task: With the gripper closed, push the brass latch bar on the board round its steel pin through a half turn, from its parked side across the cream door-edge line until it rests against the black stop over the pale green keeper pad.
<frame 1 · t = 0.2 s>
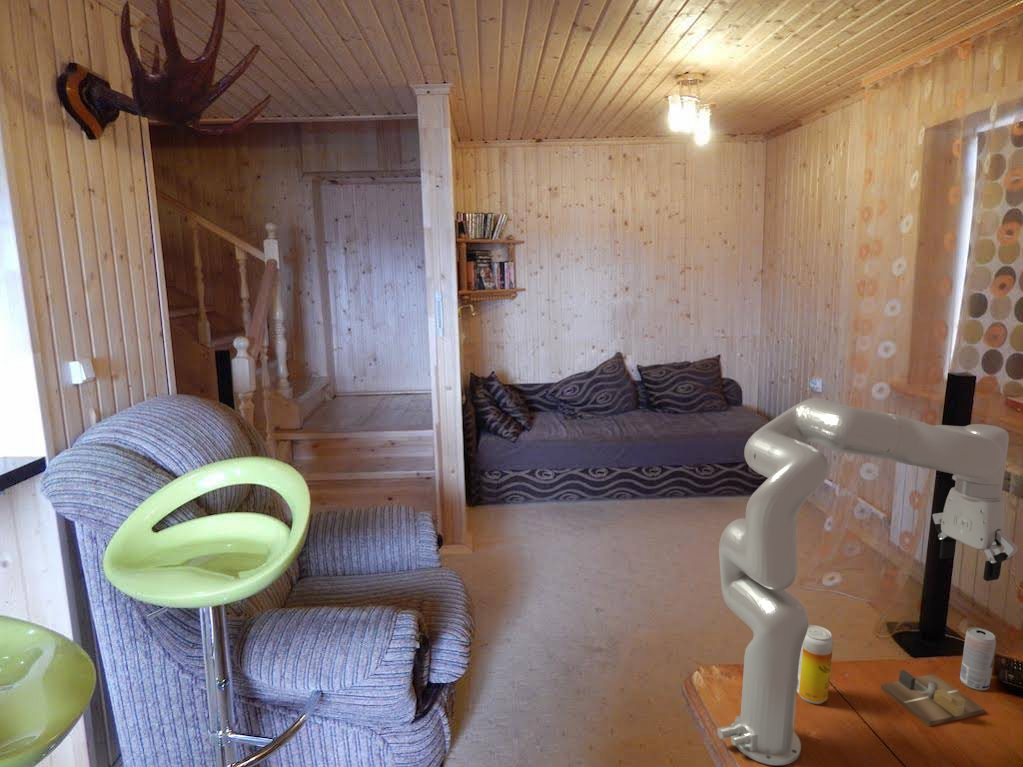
hand: (967, 568, 132), 30 cm above the table, fingers open, 9 cm apart
lock board: (930, 700, 139), on the table
energy drink: (974, 684, 144), on the table
beer can: (811, 696, 140), on the table
latch bar: (949, 700, 134), point 3 cm above the table, hinge at 0.0°
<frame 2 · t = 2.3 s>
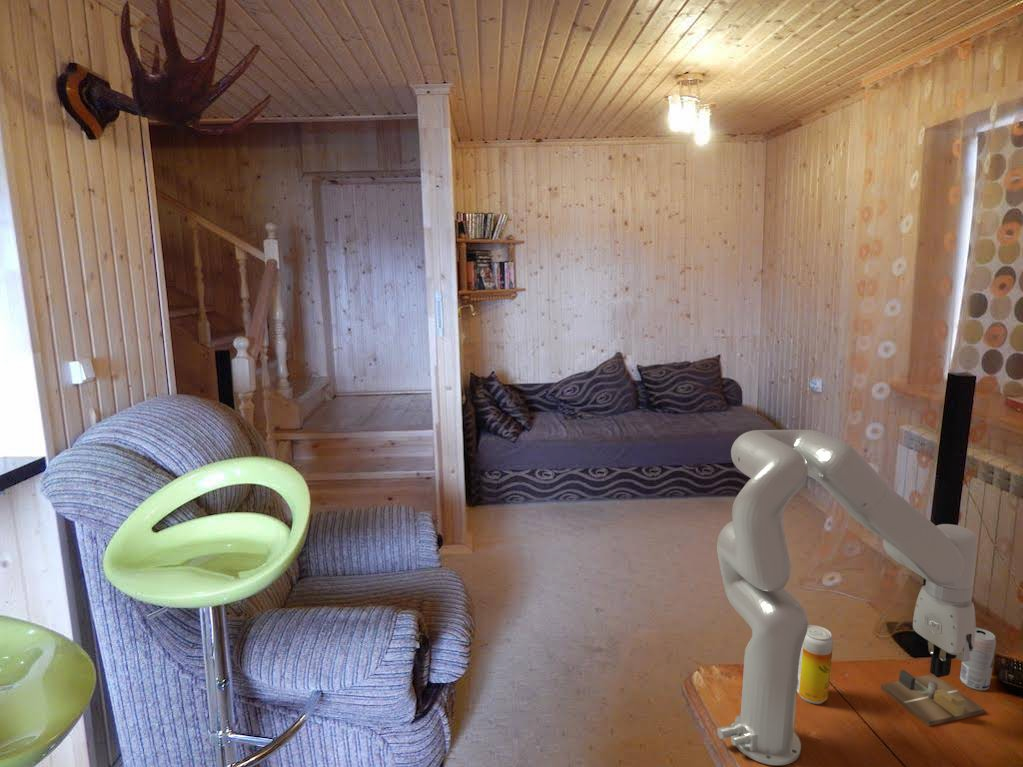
hand: (939, 673, 131), 11 cm above the table, fingers closed
nothing on the table moved.
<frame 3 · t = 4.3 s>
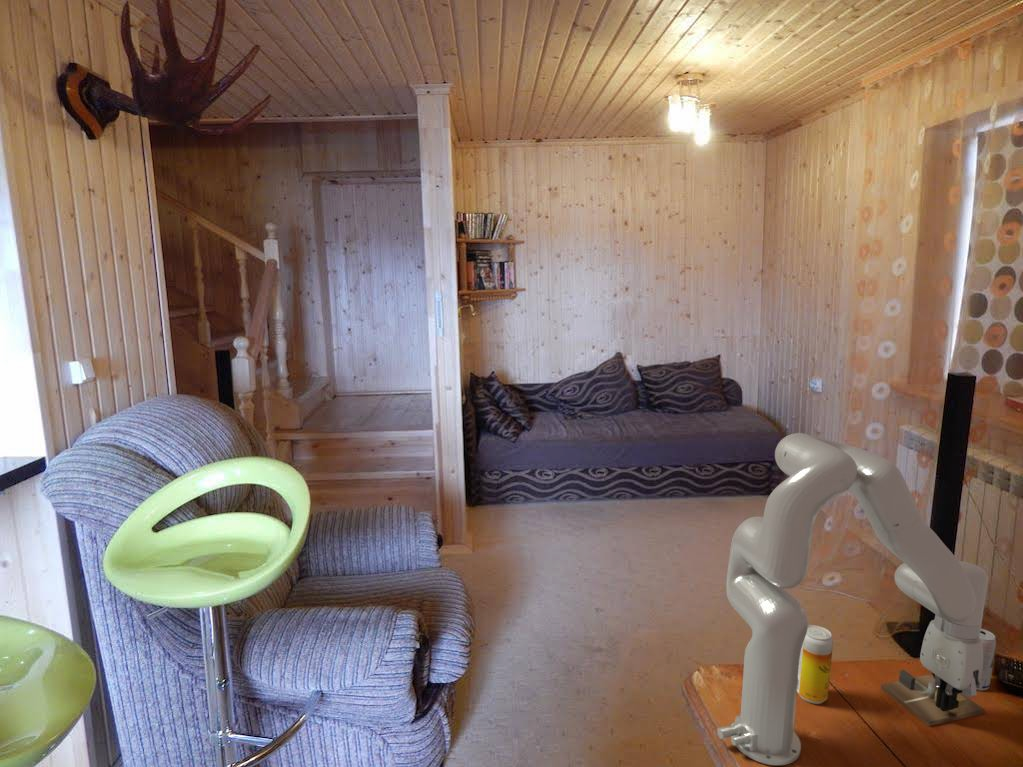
hand: (945, 707, 133), 3 cm above the table, fingers closed
latch bar: (949, 700, 134), point 3 cm above the table, hinge at 3.3°, touching gripper
everything else where it was.
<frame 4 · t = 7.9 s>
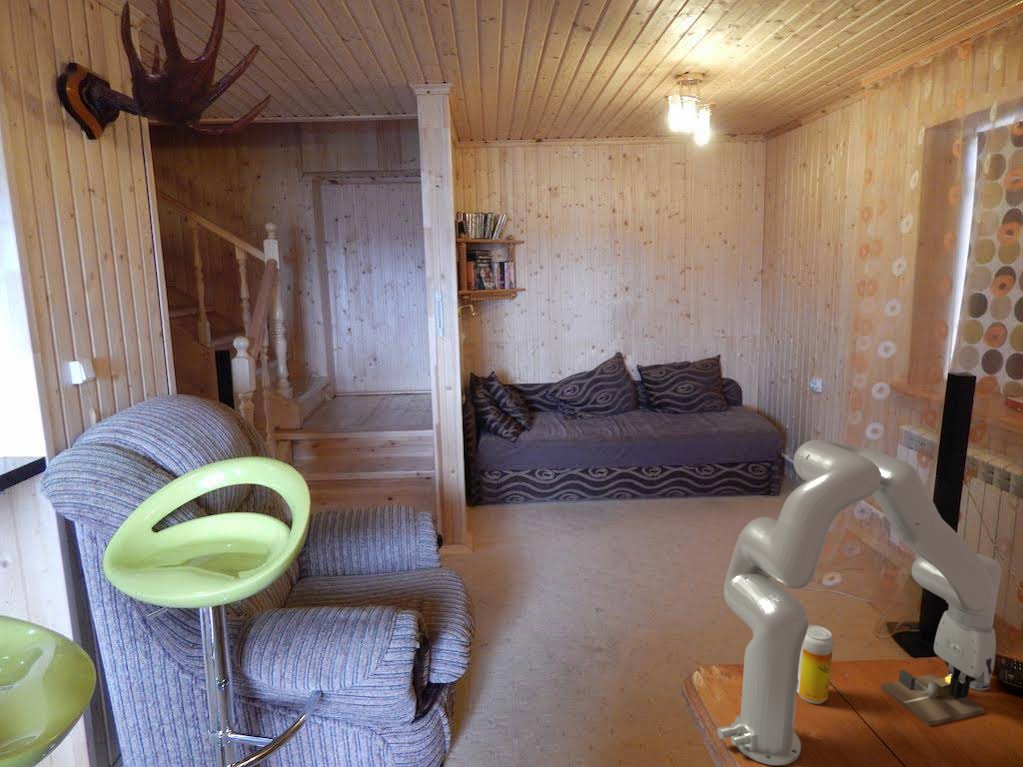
hand: (958, 695, 137), 2 cm above the table, fingers closed
latch bar: (945, 684, 139), point 3 cm above the table, hinge at 96.1°, touching gripper
everything else where it was.
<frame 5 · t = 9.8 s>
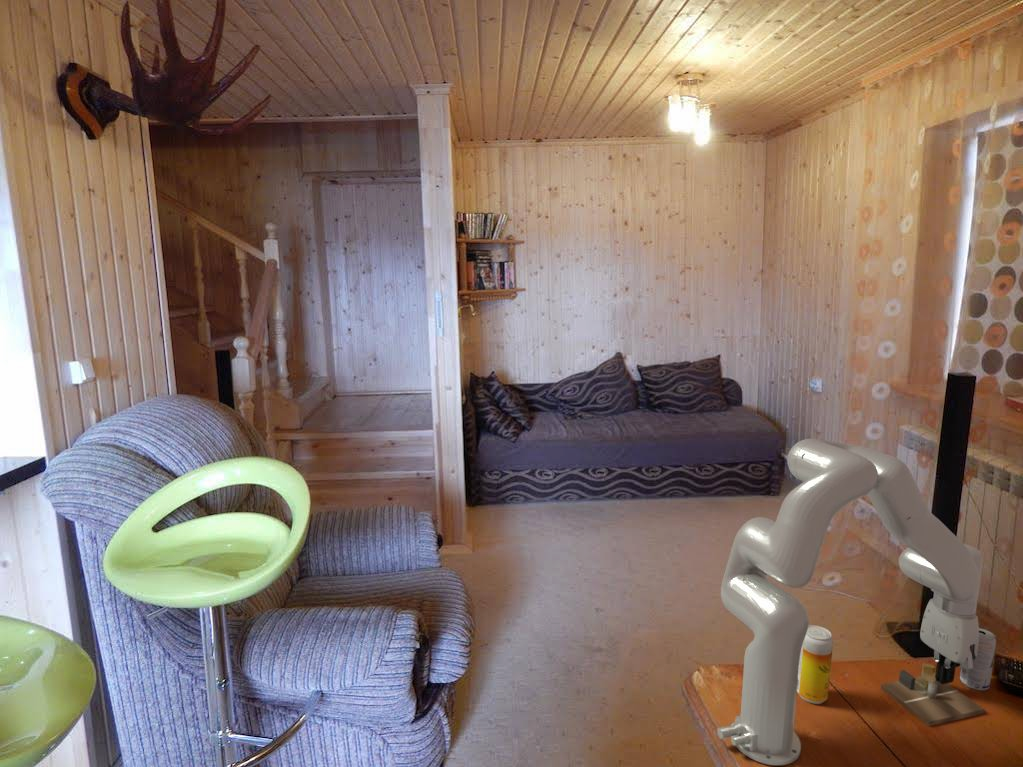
hand: (944, 680, 141), 3 cm above the table, fingers closed
latch bar: (929, 677, 142), point 3 cm above the table, hinge at 141.5°, touching gripper
everything else where it was.
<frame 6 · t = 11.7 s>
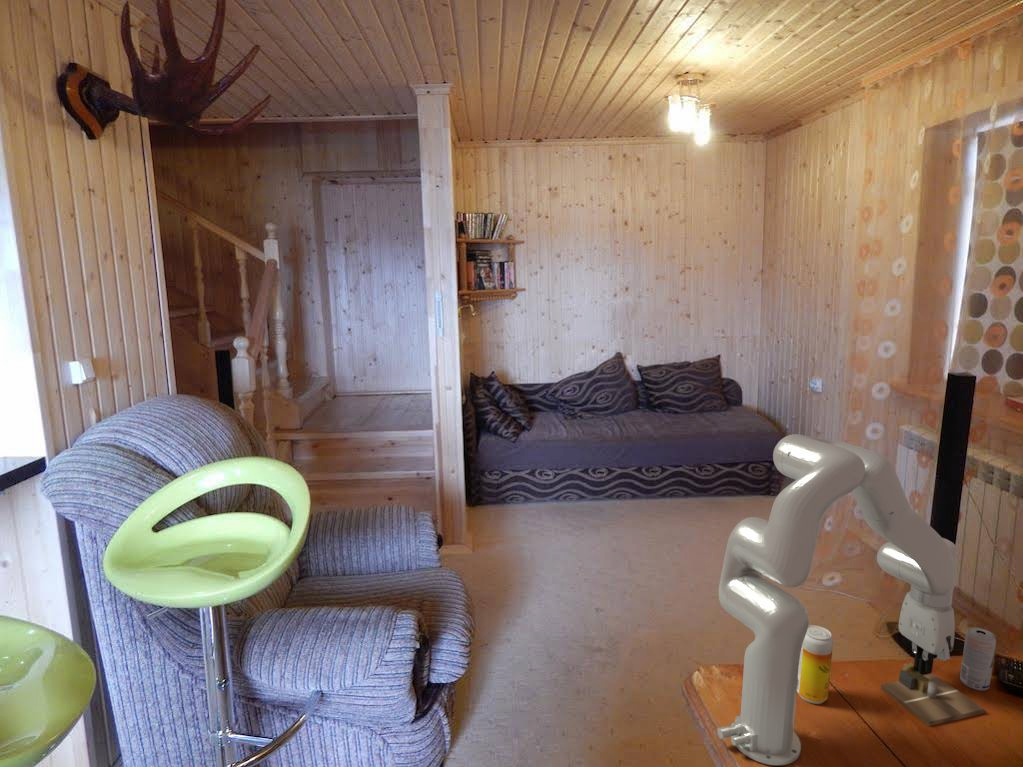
hand: (922, 671, 143), 3 cm above the table, fingers closed
latch bar: (916, 677, 142), point 3 cm above the table, hinge at 181.8°, touching gripper
everything else where it was.
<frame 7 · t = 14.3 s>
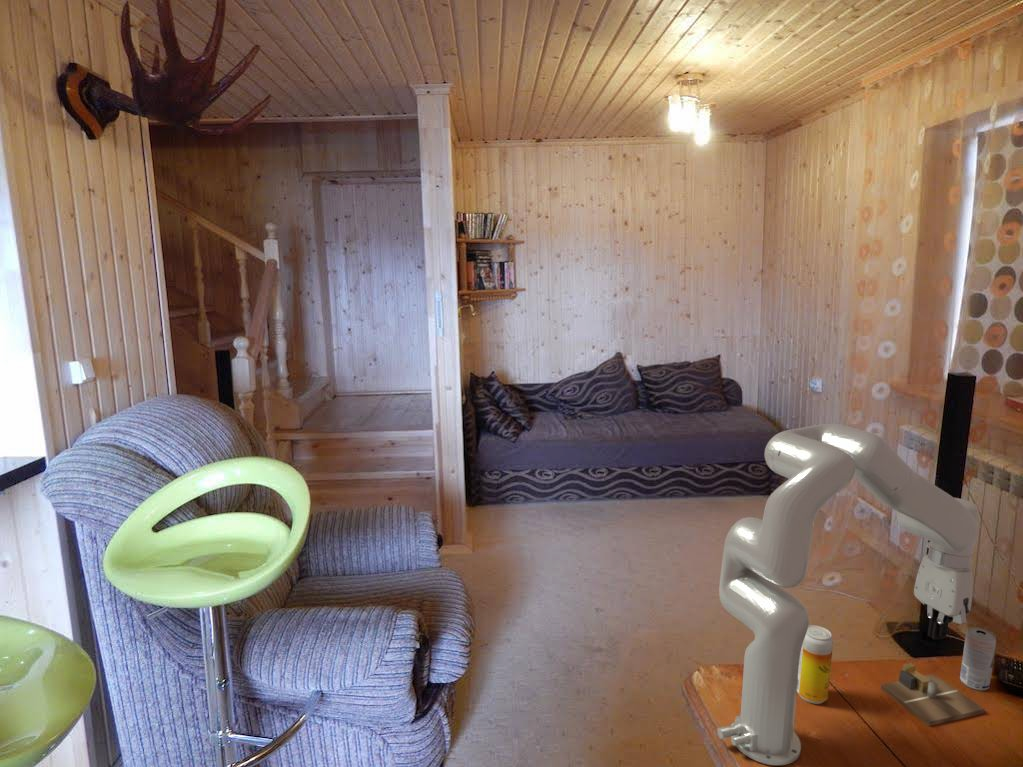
hand: (936, 637, 141), 12 cm above the table, fingers closed
latch bar: (916, 677, 142), point 3 cm above the table, hinge at 181.9°
everything else where it was.
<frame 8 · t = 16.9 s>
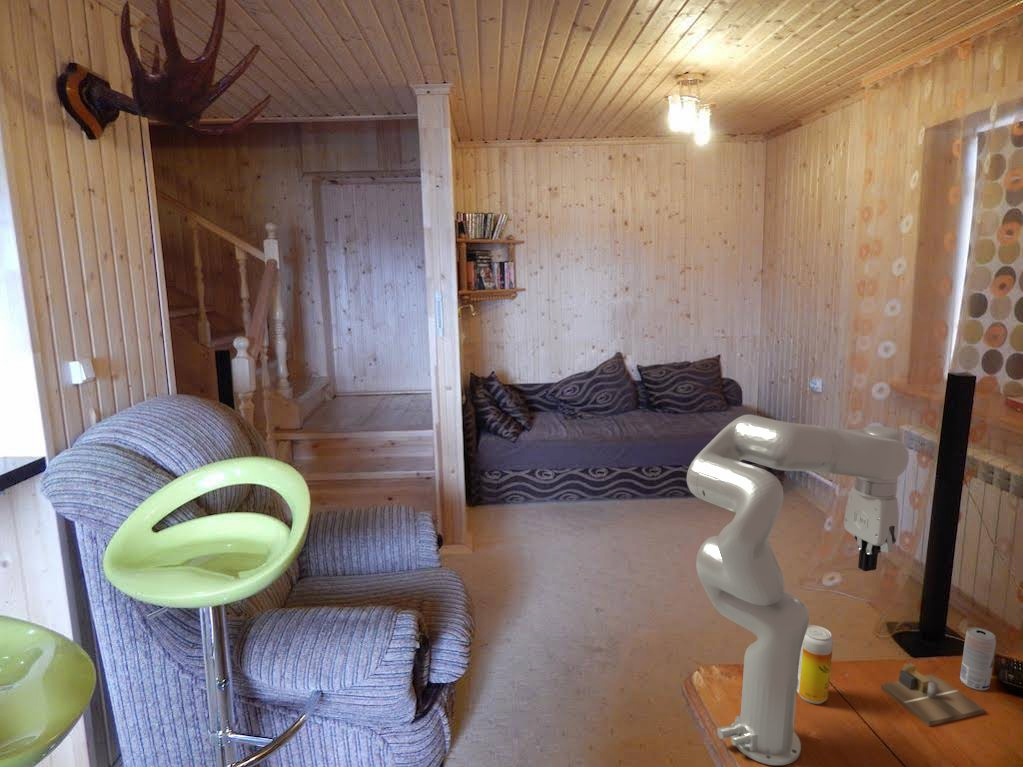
hand: (867, 568, 139), 27 cm above the table, fingers closed
nothing on the table moved.
at the end: latch bar at +182° (first picture: +0°) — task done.
